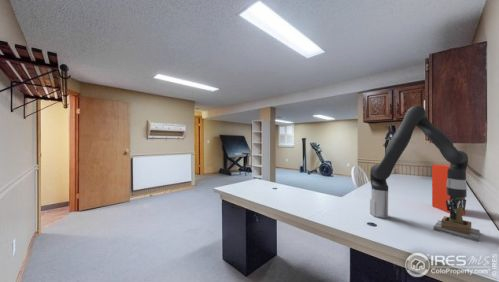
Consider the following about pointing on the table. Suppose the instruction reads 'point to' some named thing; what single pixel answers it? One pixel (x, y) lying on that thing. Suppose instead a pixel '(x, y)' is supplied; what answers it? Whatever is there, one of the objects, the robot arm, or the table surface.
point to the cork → (457, 216)
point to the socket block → (457, 229)
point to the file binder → (440, 187)
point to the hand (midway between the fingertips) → (456, 218)
